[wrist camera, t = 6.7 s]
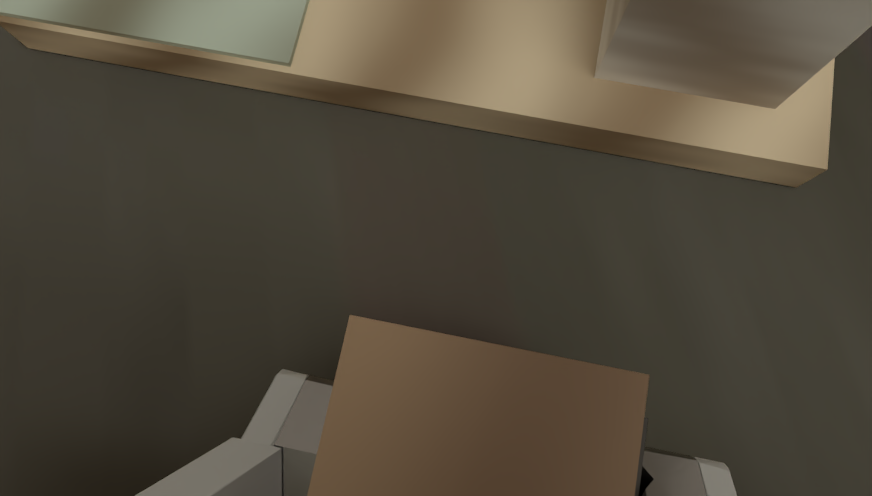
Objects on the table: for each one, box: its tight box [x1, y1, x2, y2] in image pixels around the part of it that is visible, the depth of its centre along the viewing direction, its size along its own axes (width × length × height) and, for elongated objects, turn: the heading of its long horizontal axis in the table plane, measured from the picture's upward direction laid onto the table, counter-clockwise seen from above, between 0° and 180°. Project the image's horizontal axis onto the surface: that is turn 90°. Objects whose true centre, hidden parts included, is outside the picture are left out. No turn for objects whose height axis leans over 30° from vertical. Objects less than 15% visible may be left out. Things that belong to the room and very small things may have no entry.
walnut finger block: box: [307, 315, 649, 496], centre depth 12 cm, size 5×4×9 cm
